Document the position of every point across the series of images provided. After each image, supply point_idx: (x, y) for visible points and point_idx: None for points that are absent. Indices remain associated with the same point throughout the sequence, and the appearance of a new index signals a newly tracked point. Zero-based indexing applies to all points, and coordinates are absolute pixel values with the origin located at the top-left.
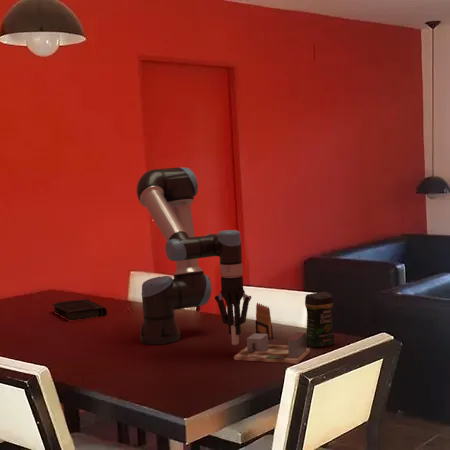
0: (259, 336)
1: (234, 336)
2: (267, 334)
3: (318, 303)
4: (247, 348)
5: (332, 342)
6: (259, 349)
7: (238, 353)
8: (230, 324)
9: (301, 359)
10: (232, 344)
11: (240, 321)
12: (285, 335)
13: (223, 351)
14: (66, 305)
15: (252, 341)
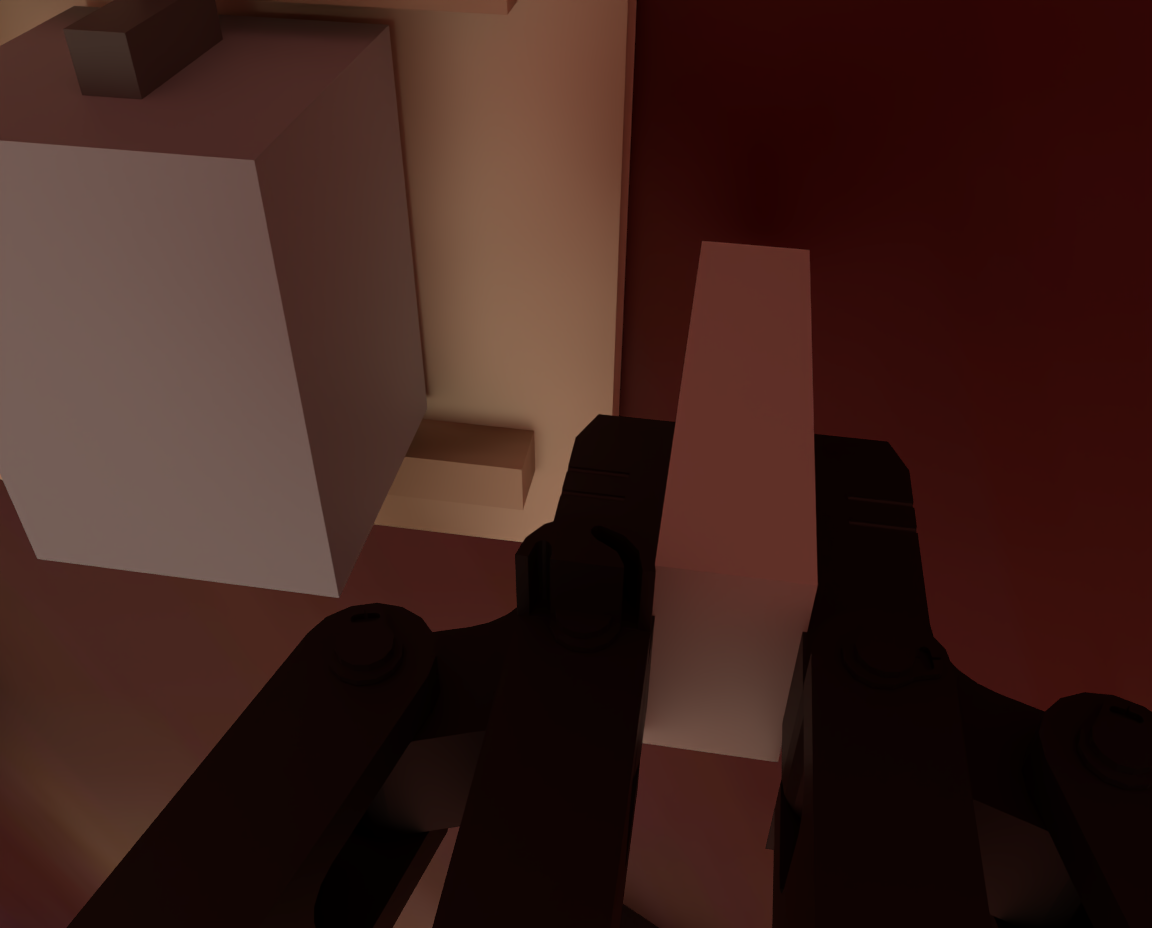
0: (65, 376)
1: (717, 356)
2: (33, 539)
3: None
4: (349, 58)
5: None
6: (60, 36)
7: (607, 16)
8: (839, 640)
9: None
10: (794, 249)
11: (386, 690)
12: (408, 923)
13: (1051, 343)
14: None
15: (126, 116)
